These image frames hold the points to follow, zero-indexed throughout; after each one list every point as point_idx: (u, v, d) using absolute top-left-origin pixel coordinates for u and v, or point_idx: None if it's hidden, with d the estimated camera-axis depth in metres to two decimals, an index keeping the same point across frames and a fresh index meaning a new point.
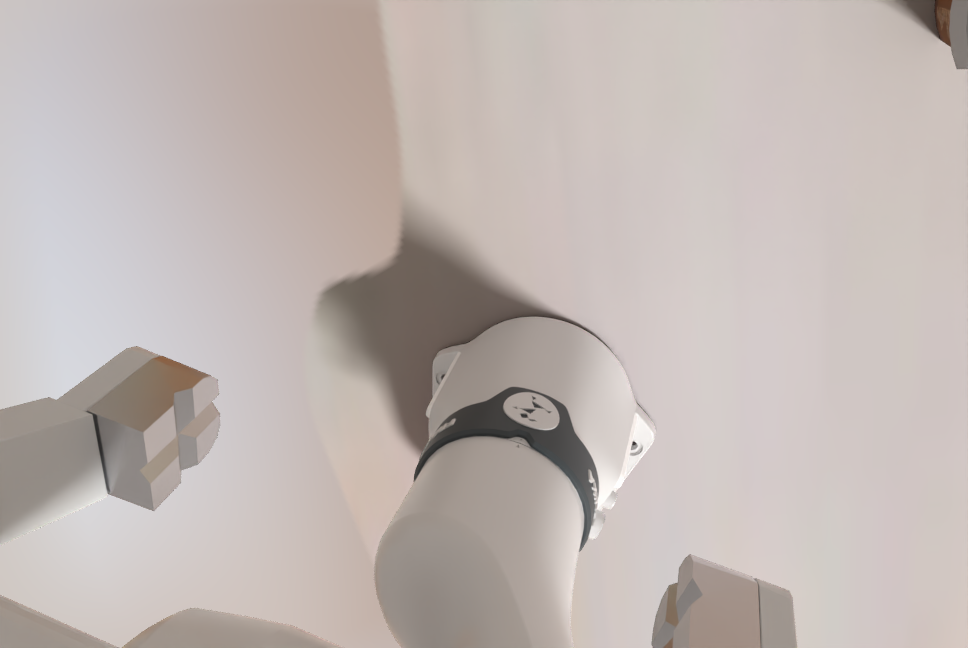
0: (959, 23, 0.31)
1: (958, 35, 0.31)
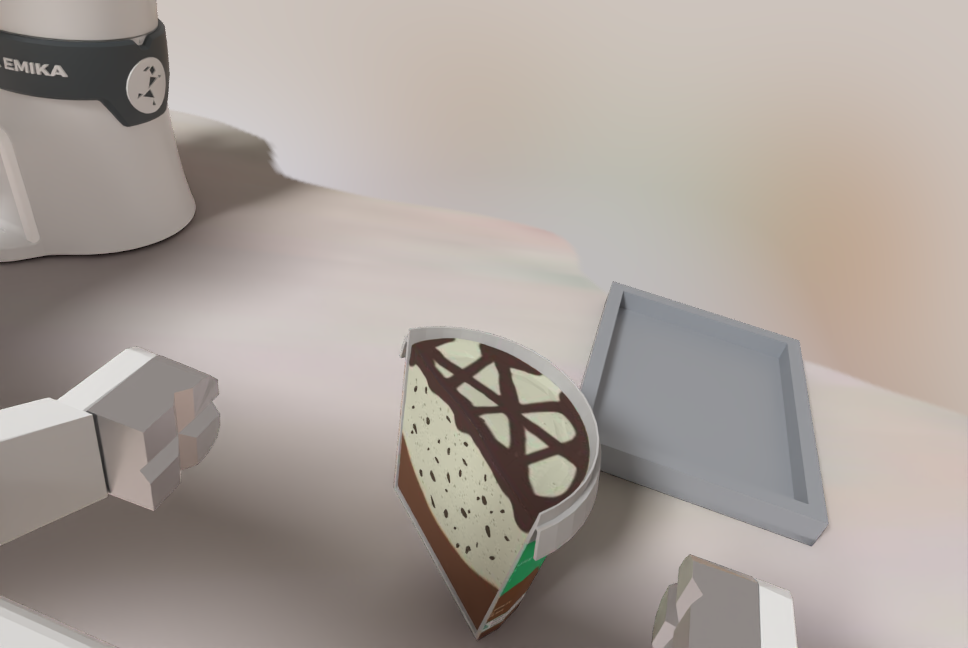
0: None
1: None
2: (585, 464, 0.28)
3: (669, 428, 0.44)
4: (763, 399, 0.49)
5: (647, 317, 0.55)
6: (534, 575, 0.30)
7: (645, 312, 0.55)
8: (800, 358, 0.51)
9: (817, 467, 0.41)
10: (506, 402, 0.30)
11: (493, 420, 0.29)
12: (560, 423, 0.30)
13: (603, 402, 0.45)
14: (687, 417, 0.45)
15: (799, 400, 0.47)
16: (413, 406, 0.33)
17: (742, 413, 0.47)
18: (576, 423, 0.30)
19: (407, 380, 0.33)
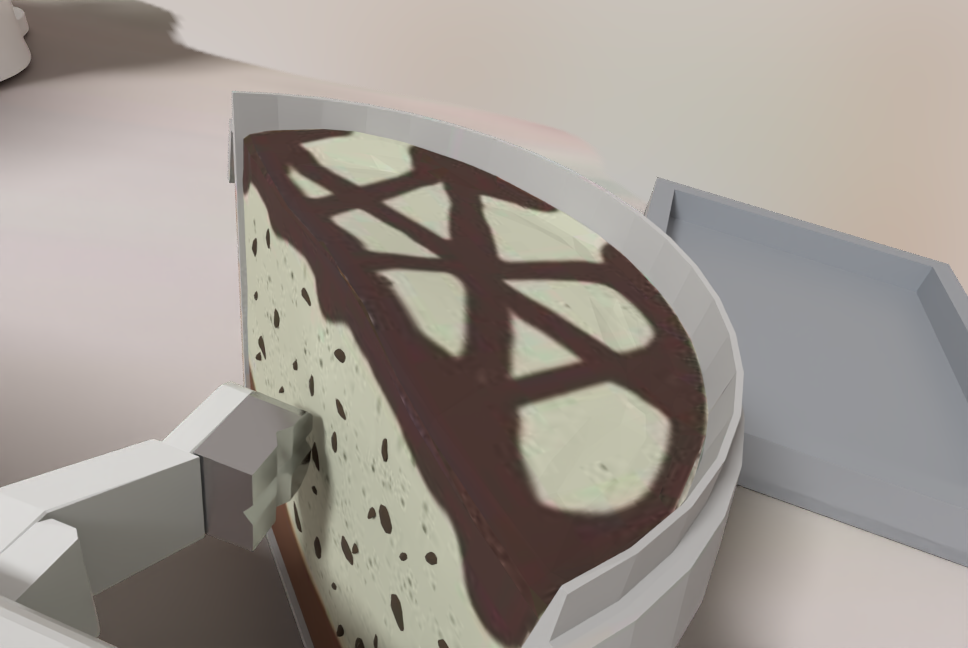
0: None
1: None
2: (697, 411, 0.09)
3: (773, 386, 0.25)
4: (912, 347, 0.30)
5: (710, 230, 0.36)
6: None
7: (707, 223, 0.36)
8: (960, 287, 0.32)
9: None
10: (463, 253, 0.11)
11: (419, 286, 0.10)
12: (610, 309, 0.11)
13: None
14: (799, 369, 0.27)
15: None
16: (254, 293, 0.14)
17: (885, 367, 0.28)
18: (652, 309, 0.11)
19: (245, 234, 0.14)
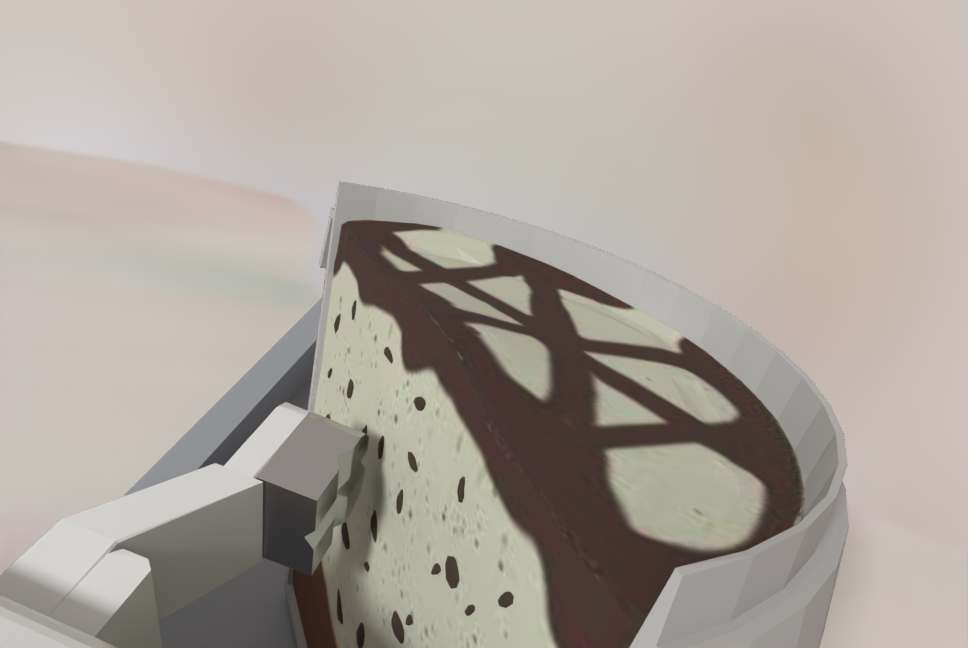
0: None
1: None
2: (792, 478, 0.09)
3: None
4: None
5: None
6: None
7: None
8: None
9: None
10: (544, 326, 0.11)
11: (505, 339, 0.10)
12: (691, 388, 0.11)
13: None
14: None
15: None
16: (329, 370, 0.14)
17: None
18: (735, 394, 0.11)
19: (328, 315, 0.15)
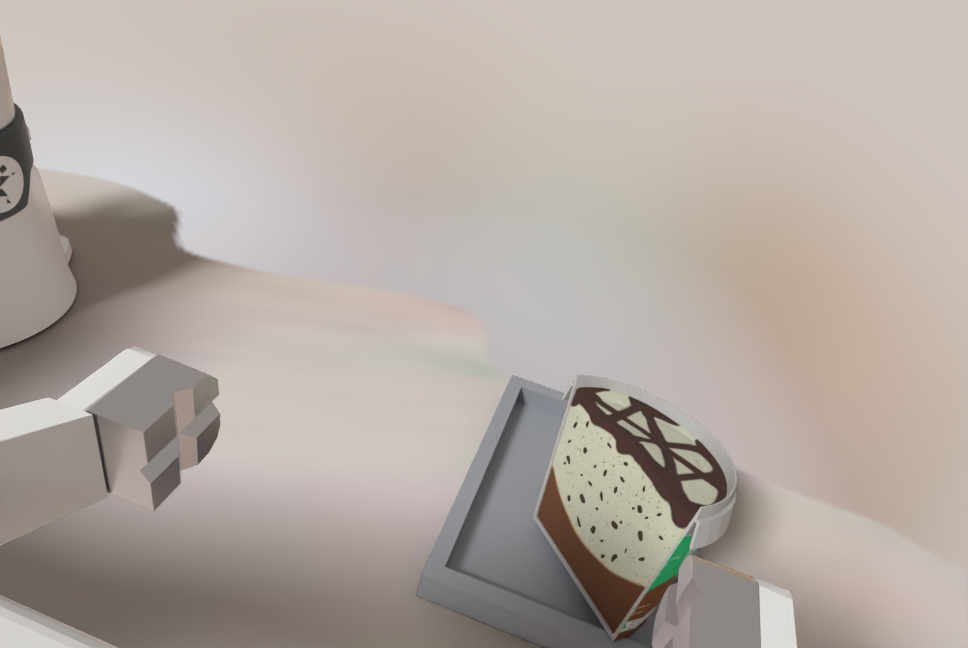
0: None
1: None
2: (725, 489, 0.35)
3: (544, 556, 0.41)
4: None
5: (547, 414, 0.52)
6: None
7: (545, 408, 0.52)
8: None
9: None
10: (655, 438, 0.37)
11: (650, 447, 0.36)
12: (699, 460, 0.37)
13: (476, 525, 0.42)
14: None
15: None
16: (569, 440, 0.40)
17: None
18: (712, 462, 0.37)
19: (566, 419, 0.41)
